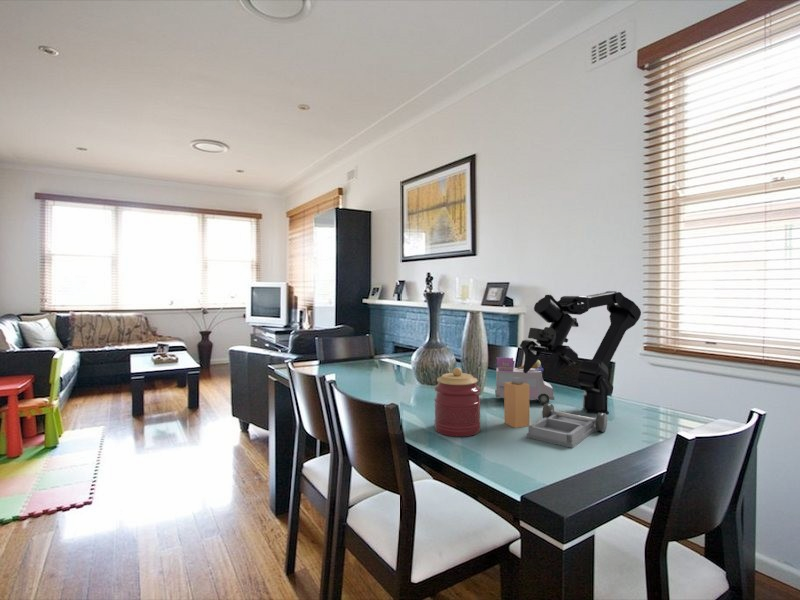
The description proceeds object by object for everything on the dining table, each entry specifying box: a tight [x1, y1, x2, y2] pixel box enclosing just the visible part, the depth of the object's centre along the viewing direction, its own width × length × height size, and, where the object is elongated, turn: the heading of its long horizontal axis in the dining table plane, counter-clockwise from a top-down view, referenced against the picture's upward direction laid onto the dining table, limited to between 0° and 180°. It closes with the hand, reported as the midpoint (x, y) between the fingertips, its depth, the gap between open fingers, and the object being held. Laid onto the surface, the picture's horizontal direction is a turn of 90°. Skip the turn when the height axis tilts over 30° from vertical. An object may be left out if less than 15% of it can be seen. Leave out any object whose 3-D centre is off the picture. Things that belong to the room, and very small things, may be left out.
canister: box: [433, 366, 482, 438], centre depth 120 cm, size 13×13×18 cm
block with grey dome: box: [503, 377, 530, 429], centre depth 125 cm, size 5×5×14 cm
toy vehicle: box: [494, 356, 555, 405], centre depth 151 cm, size 9×20×15 cm, turn 78°
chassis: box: [526, 402, 608, 449], centre depth 118 cm, size 22×17×5 cm
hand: (535, 375), depth 127 cm, fingers open, 9 cm apart
